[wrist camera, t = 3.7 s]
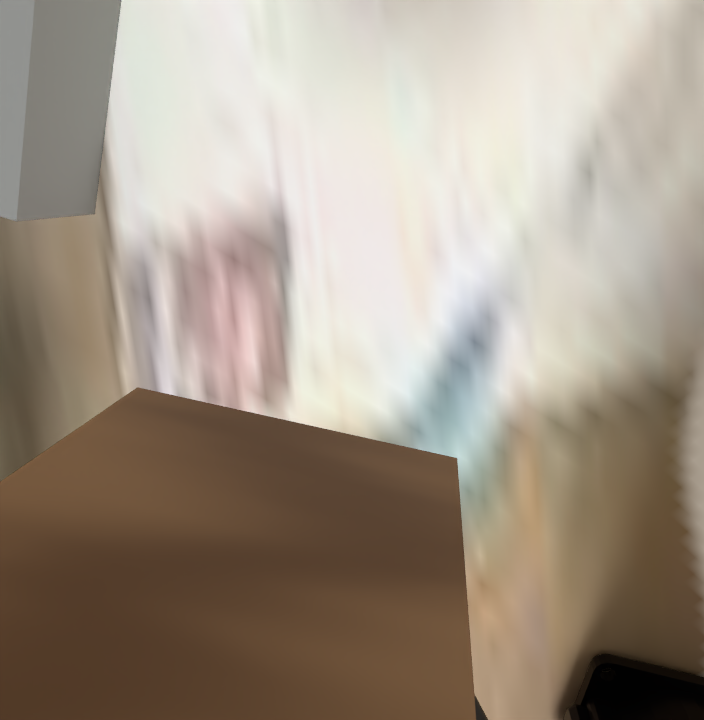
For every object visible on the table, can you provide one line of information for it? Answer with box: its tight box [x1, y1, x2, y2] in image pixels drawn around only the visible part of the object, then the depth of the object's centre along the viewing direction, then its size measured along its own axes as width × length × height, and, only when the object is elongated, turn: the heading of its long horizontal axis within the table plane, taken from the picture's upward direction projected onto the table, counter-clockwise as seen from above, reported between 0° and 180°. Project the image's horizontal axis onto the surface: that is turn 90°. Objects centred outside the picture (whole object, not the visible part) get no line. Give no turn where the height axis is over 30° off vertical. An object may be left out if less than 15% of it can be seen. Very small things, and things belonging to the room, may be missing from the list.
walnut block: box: [0, 388, 476, 720], centre depth 7 cm, size 5×5×6 cm
